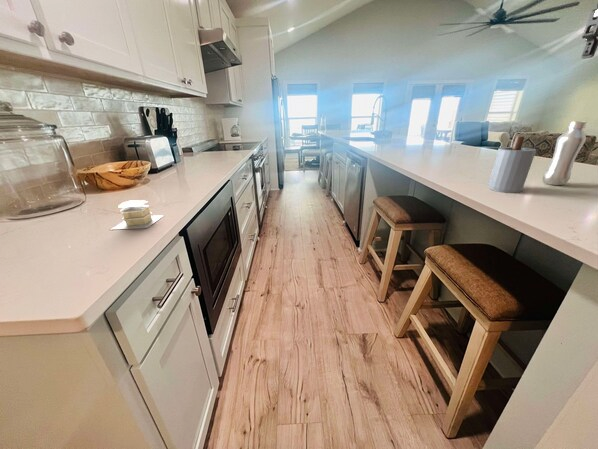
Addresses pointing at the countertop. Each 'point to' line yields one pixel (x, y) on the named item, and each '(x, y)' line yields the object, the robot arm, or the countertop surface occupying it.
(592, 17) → the robot arm
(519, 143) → the brush
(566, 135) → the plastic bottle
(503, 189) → the cup
